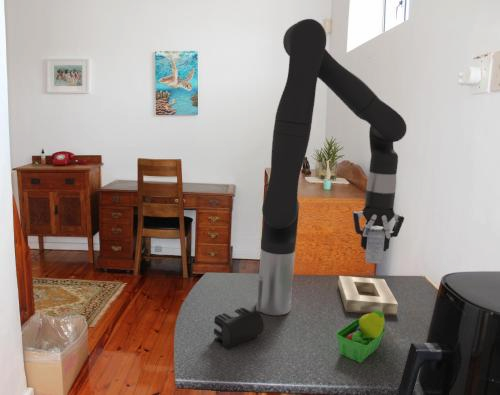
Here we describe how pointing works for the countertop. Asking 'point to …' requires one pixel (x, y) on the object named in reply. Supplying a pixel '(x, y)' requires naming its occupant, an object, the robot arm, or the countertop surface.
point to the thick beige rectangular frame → (366, 295)
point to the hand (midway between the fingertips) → (374, 249)
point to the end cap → (238, 327)
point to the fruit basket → (362, 336)
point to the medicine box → (375, 245)
